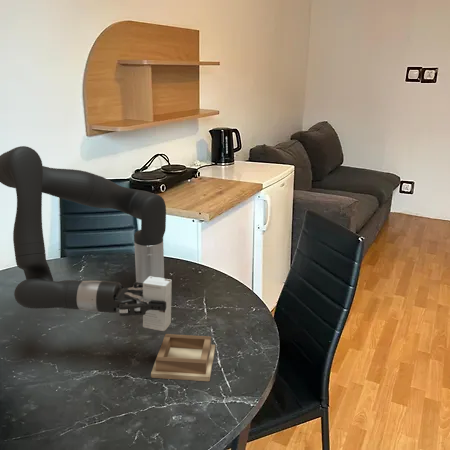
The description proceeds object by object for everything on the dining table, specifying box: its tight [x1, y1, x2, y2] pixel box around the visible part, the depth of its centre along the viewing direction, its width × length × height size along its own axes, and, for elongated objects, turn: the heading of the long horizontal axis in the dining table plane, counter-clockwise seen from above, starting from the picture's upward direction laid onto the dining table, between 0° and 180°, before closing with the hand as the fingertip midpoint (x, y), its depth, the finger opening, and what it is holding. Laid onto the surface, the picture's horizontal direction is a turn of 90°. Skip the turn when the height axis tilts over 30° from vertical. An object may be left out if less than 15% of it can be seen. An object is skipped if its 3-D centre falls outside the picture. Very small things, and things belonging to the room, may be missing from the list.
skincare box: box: [142, 276, 173, 332], centre depth 116 cm, size 6×4×12 cm
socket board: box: [150, 333, 216, 382], centre depth 119 cm, size 14×14×4 cm
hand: (168, 300), depth 116 cm, fingers closed on skincare box, 5 cm apart
